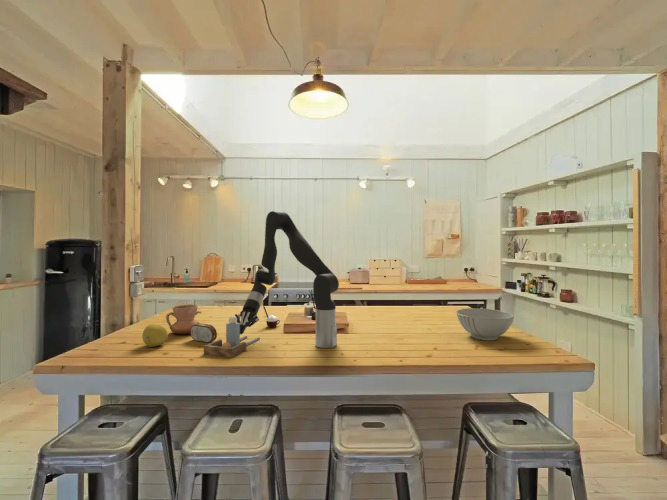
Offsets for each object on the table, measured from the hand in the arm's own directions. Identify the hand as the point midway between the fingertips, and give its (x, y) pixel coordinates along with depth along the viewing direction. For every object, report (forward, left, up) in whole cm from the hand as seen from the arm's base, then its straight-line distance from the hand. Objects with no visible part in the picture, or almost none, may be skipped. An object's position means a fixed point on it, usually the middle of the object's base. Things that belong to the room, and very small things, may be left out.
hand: (239, 333), depth 163 cm
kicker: (0, +5, -5) cm, 8 cm away
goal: (0, +10, -5) cm, 12 cm away
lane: (0, -3, -5) cm, 6 cm away
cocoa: (+3, -36, -6) cm, 37 cm away
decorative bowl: (-109, -52, -6) cm, 121 cm away
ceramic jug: (+40, -9, -6) cm, 41 cm away
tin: (+20, +1, -6) cm, 21 cm away
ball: (0, +11, -5) cm, 12 cm away
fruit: (+36, +14, -6) cm, 39 cm away
